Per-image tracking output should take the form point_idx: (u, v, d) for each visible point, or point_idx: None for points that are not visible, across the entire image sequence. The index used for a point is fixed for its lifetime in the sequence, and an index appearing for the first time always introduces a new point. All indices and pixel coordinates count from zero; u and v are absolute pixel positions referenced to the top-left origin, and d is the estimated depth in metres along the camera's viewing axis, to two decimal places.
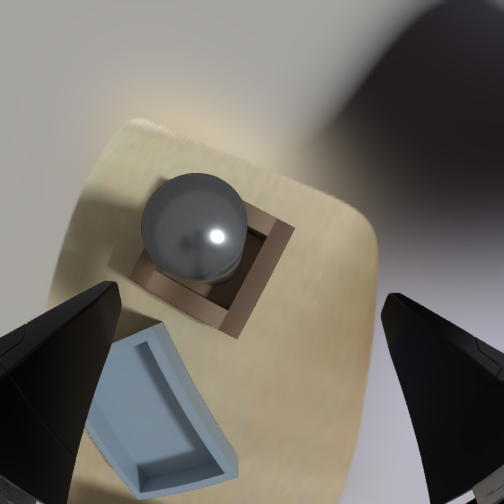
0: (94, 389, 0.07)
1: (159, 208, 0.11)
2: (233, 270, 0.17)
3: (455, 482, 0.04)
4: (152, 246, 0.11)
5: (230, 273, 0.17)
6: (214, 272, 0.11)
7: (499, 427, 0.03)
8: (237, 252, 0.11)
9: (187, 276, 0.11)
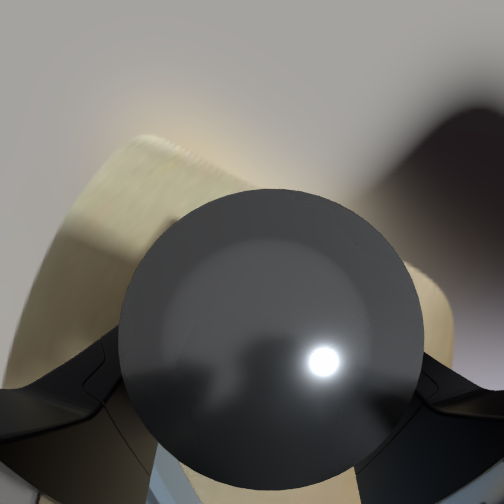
0: None
1: (177, 281, 0.04)
2: None
3: None
4: (151, 398, 0.03)
5: None
6: (336, 471, 0.03)
7: (429, 460, 0.03)
8: (399, 417, 0.03)
9: (259, 486, 0.03)
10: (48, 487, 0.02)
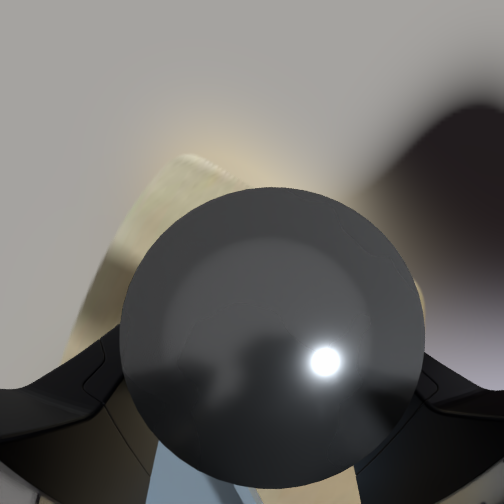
0: None
1: (178, 279, 0.04)
2: None
3: None
4: (152, 396, 0.03)
5: None
6: (337, 470, 0.03)
7: (429, 460, 0.03)
8: (400, 415, 0.03)
9: (260, 484, 0.03)
10: (48, 487, 0.02)
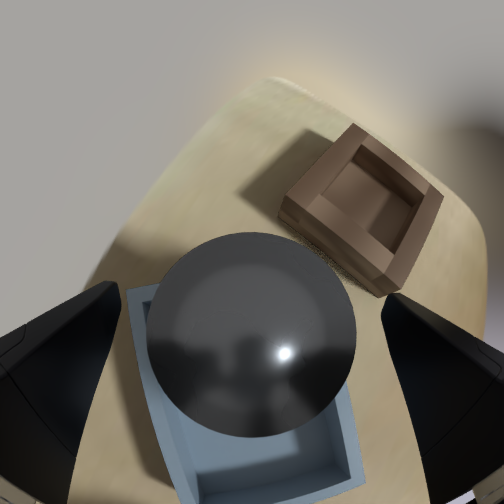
0: (94, 389, 0.07)
1: (184, 295, 0.06)
2: None
3: (455, 482, 0.04)
4: (167, 370, 0.05)
5: None
6: (290, 427, 0.05)
7: (500, 426, 0.03)
8: (336, 391, 0.05)
9: (237, 433, 0.05)
10: None
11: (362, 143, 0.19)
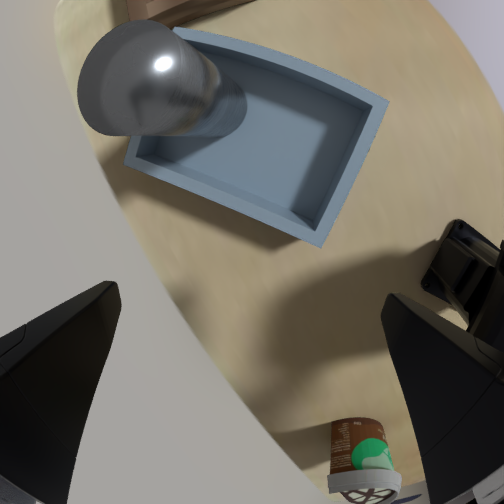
0: (94, 389, 0.07)
1: (91, 102, 0.08)
2: (226, 84, 0.12)
3: (454, 483, 0.04)
4: (114, 127, 0.08)
5: (226, 89, 0.12)
6: (178, 78, 0.07)
7: (499, 427, 0.03)
8: (177, 44, 0.07)
9: (162, 107, 0.08)
10: None
11: None
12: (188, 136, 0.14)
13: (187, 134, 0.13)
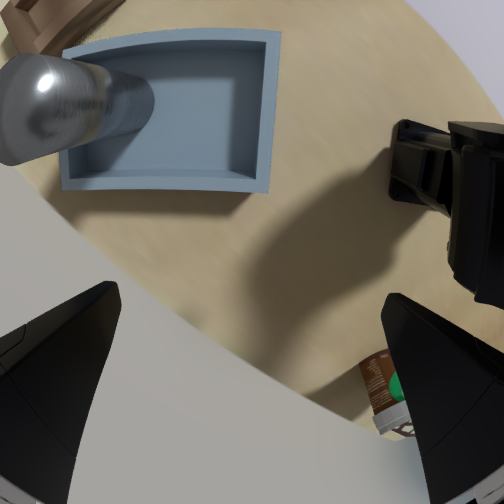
0: (94, 389, 0.07)
1: None
2: (115, 78, 0.11)
3: (455, 482, 0.04)
4: (21, 155, 0.07)
5: (117, 81, 0.11)
6: (53, 87, 0.07)
7: (499, 427, 0.03)
8: (44, 62, 0.06)
9: (49, 118, 0.07)
10: None
11: (14, 5, 0.09)
12: (103, 138, 0.13)
13: (97, 136, 0.12)
